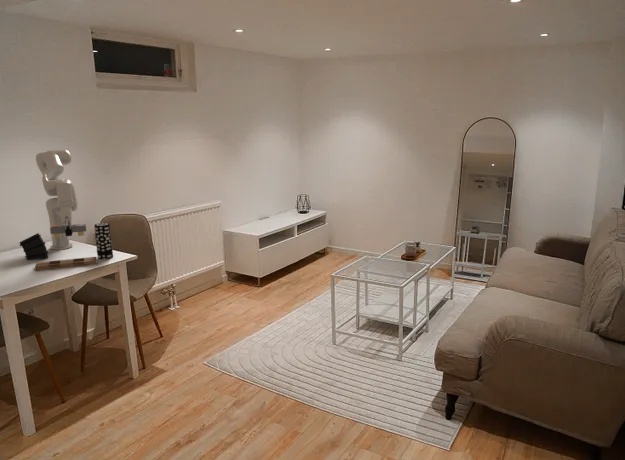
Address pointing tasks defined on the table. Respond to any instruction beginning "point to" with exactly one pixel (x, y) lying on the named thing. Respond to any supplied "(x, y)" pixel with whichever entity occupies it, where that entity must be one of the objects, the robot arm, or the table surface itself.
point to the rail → (65, 263)
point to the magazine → (34, 248)
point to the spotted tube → (103, 241)
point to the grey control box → (61, 229)
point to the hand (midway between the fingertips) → (69, 234)
